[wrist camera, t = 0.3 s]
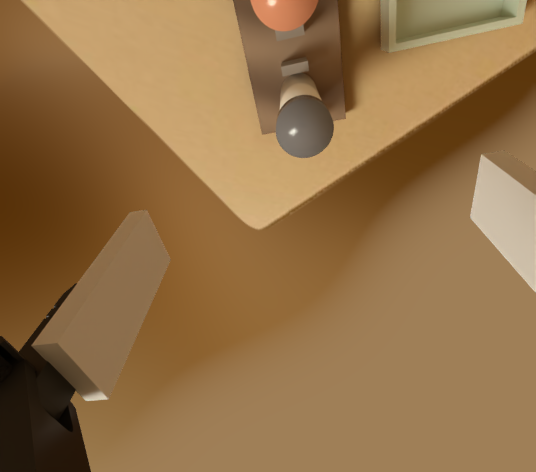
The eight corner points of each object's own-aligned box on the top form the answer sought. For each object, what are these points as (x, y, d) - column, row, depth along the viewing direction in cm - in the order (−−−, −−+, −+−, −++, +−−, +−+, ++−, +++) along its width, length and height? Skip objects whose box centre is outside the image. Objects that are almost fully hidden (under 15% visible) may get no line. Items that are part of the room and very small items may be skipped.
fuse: (275, 75, 32) (270, 106, 22) (315, 66, 32) (330, 94, 21) (282, 116, 34) (281, 162, 24) (320, 108, 34) (336, 152, 23)
